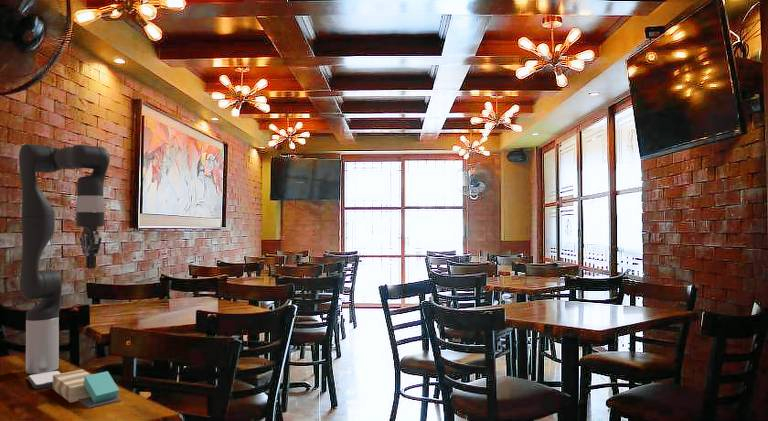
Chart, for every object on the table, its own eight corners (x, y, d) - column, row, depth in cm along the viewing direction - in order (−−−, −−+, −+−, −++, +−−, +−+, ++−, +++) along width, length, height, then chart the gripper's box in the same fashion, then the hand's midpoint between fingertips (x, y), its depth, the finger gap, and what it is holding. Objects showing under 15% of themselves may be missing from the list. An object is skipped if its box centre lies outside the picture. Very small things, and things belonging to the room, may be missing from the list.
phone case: (26, 380, 168) (34, 391, 156) (26, 375, 168) (34, 385, 156) (59, 375, 173) (69, 384, 161) (59, 370, 173) (69, 379, 161)
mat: (78, 400, 145) (78, 399, 145) (109, 393, 151) (109, 392, 151) (88, 408, 139) (88, 407, 139) (121, 401, 144) (121, 399, 144)
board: (52, 388, 156) (52, 375, 156) (82, 382, 162) (82, 369, 162) (70, 402, 144) (70, 387, 144) (102, 395, 149) (102, 381, 149)
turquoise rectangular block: (83, 383, 146) (85, 376, 145) (105, 378, 151) (107, 371, 150) (94, 403, 142) (96, 395, 141) (117, 397, 146) (119, 390, 146)
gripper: (70, 211, 163) (70, 268, 163) (83, 210, 154) (83, 270, 153) (96, 211, 169) (96, 266, 168) (111, 210, 159) (111, 268, 159)
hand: (90, 268), depth 161 cm, fingers closed
